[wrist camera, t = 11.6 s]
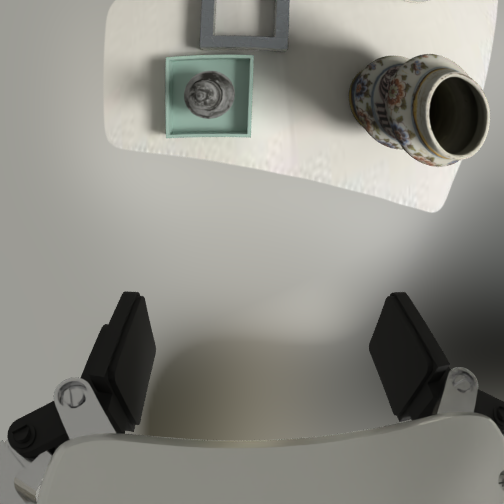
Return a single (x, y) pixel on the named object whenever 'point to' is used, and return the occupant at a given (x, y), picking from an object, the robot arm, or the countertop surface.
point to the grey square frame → (244, 42)
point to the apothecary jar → (421, 107)
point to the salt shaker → (209, 94)
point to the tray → (226, 125)
